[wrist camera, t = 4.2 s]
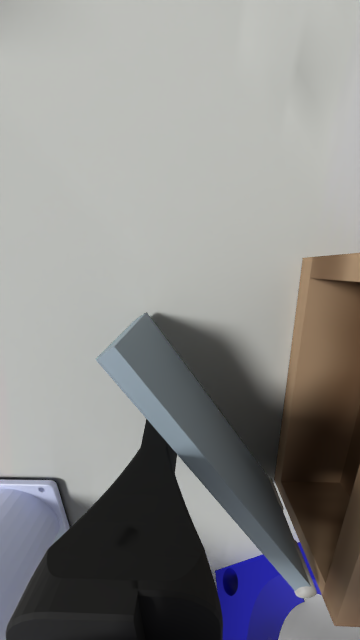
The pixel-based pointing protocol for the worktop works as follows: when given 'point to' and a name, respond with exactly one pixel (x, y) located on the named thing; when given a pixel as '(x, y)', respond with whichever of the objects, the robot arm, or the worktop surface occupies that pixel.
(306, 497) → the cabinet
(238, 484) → the door
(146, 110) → the worktop surface
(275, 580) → the cable clip
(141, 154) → the worktop surface
